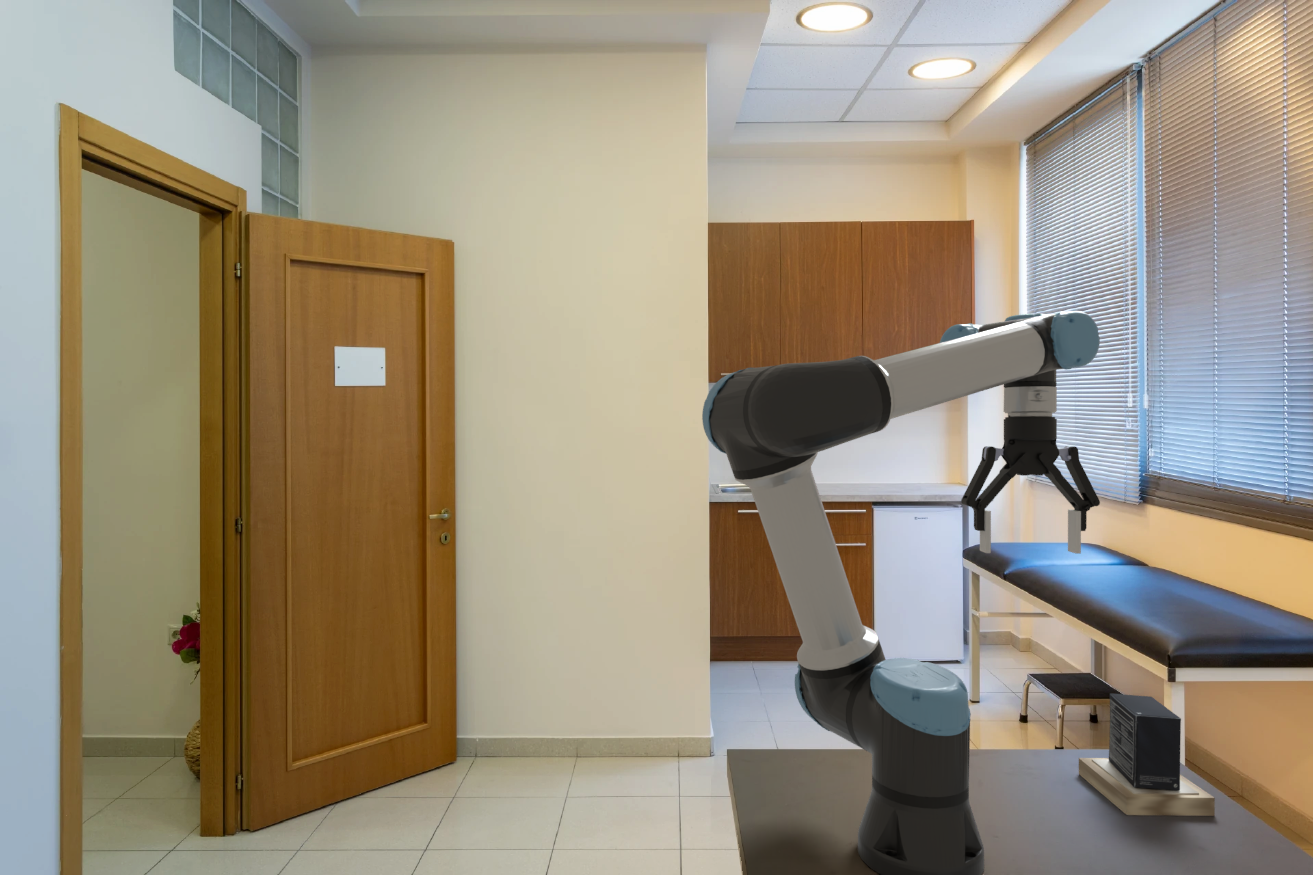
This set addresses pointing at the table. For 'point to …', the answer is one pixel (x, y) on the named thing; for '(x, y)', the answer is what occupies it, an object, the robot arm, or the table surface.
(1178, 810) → the beech picture frame
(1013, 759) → the table surface
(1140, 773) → the small box
